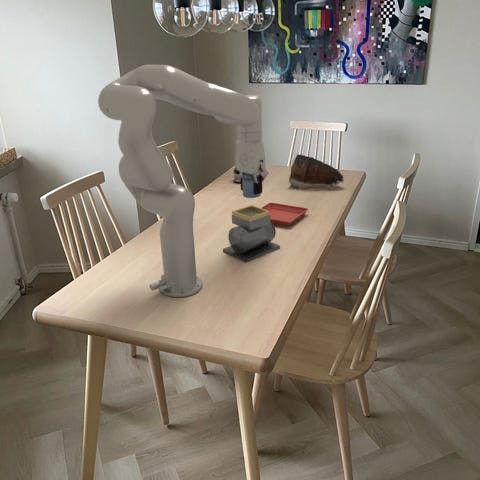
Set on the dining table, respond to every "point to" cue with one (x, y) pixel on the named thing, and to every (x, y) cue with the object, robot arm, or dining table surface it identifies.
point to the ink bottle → (236, 176)
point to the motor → (251, 234)
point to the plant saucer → (284, 213)
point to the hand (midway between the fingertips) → (251, 191)
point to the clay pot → (313, 173)
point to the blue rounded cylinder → (249, 186)
